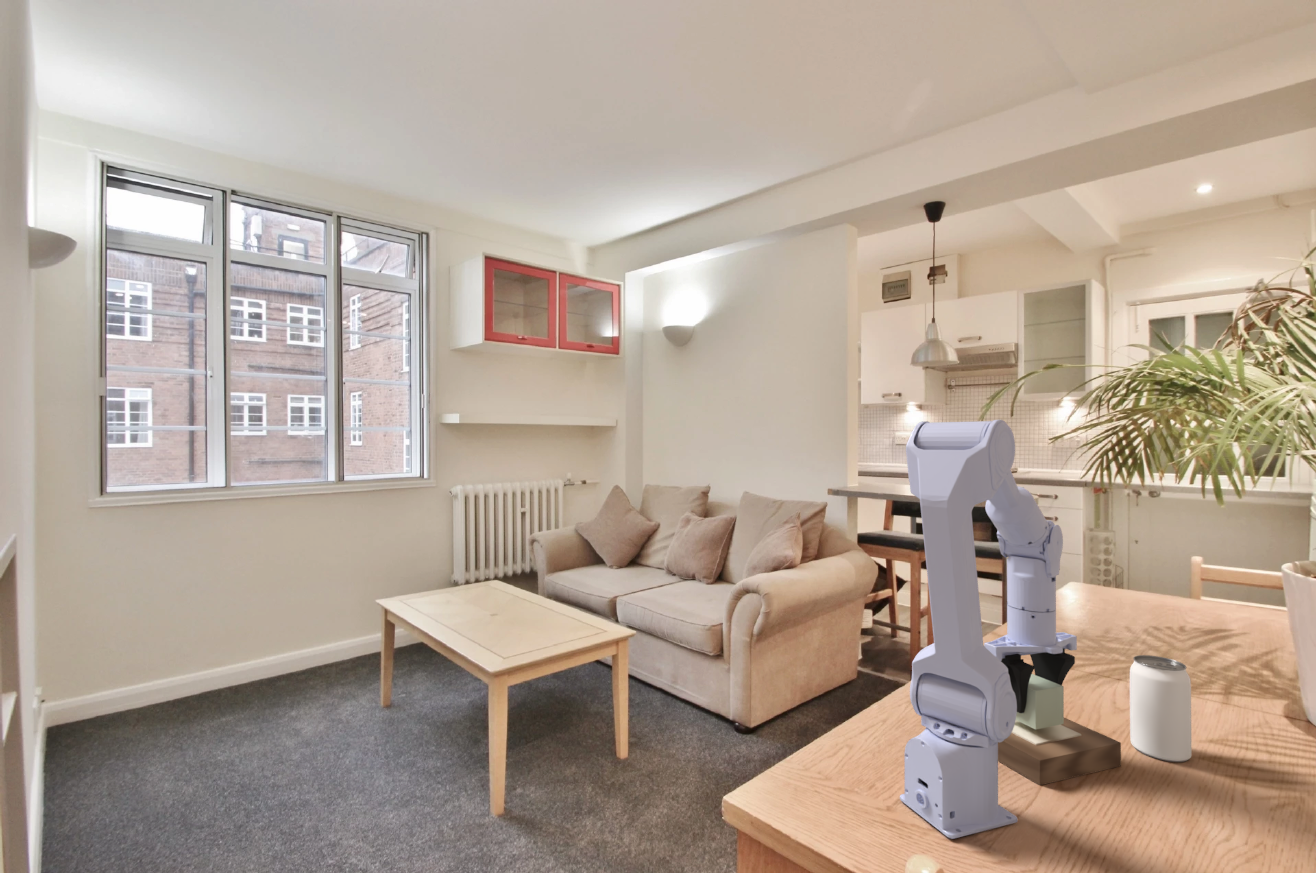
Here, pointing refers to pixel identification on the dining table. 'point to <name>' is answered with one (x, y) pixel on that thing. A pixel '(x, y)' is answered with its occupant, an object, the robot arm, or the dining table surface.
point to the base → (1058, 751)
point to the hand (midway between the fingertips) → (1031, 707)
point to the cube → (1043, 704)
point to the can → (1160, 708)
